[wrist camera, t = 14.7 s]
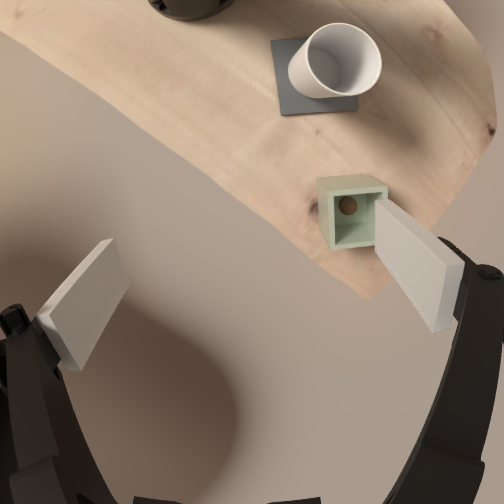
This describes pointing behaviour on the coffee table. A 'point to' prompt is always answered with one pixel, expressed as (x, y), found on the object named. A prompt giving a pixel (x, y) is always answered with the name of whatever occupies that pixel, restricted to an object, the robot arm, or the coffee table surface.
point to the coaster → (290, 96)
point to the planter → (354, 226)
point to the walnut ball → (348, 206)
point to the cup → (335, 62)
